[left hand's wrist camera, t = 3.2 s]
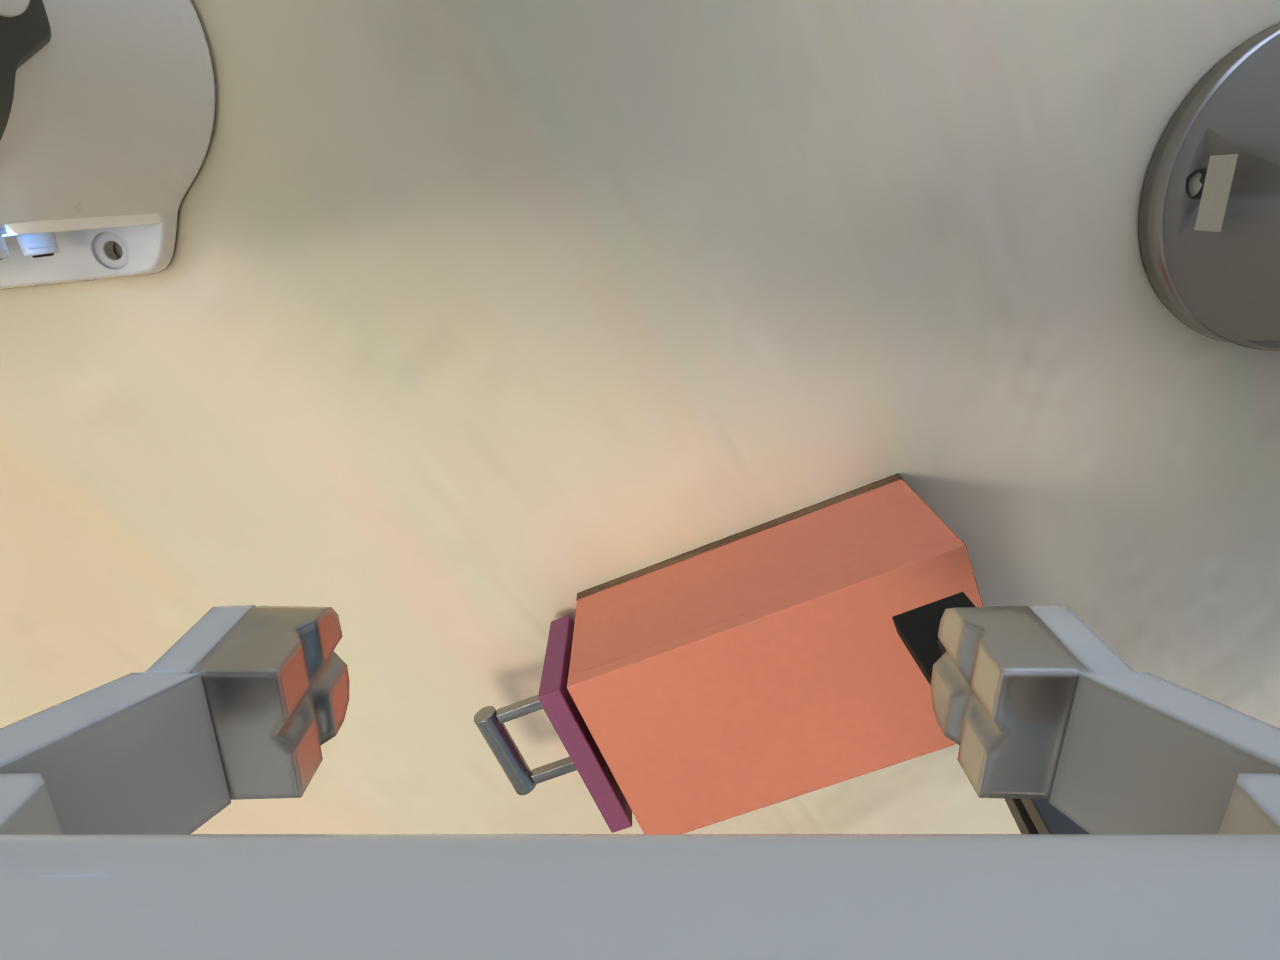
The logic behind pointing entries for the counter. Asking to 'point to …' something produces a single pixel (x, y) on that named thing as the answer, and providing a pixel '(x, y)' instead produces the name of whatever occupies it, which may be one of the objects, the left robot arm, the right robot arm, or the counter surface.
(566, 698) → the drawer
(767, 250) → the counter surface
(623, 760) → the cabinet
